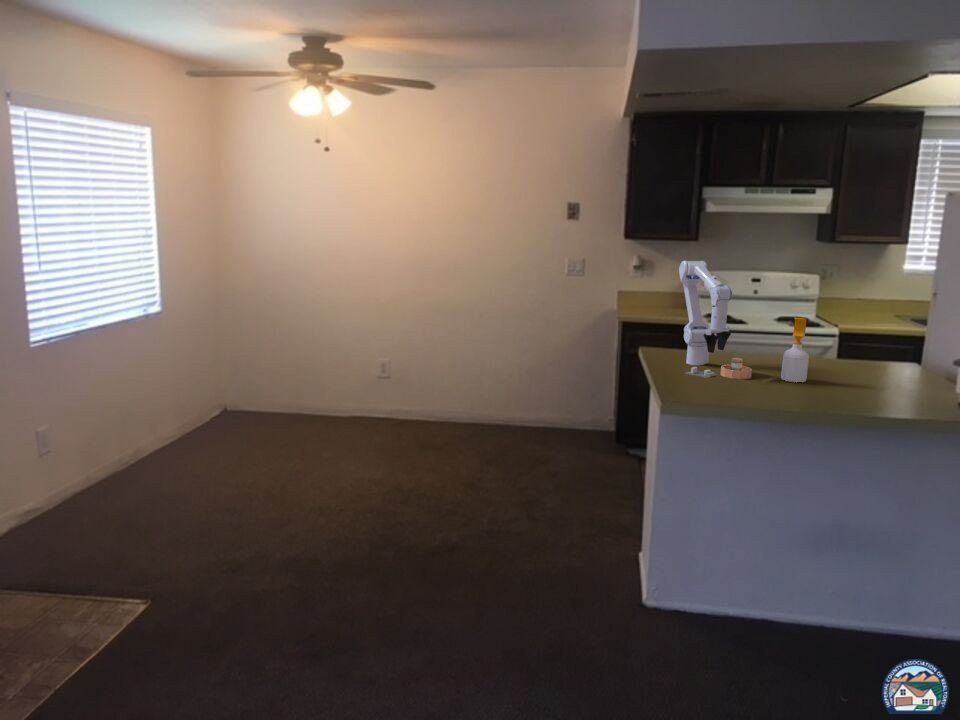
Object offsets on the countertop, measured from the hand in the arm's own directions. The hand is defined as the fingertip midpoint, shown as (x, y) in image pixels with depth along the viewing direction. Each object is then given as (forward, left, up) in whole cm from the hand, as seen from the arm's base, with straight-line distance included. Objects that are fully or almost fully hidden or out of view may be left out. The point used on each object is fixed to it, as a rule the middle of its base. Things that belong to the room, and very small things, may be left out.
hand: (715, 351), depth 286 cm
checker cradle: (+8, -1, -9) cm, 12 cm away
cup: (-1, +9, -9) cm, 13 cm away
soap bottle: (-16, +25, -10) cm, 31 cm away
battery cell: (-1, +9, -9) cm, 12 cm away
